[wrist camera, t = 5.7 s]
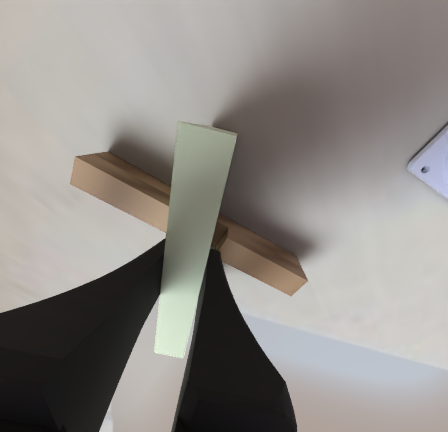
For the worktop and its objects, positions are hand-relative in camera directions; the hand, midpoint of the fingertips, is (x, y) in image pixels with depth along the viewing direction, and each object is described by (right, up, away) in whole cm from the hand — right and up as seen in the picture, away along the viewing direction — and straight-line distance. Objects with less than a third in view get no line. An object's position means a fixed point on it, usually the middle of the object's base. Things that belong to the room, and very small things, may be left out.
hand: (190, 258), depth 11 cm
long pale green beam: (0, +2, +5) cm, 5 cm away
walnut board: (0, +2, +5) cm, 5 cm away
